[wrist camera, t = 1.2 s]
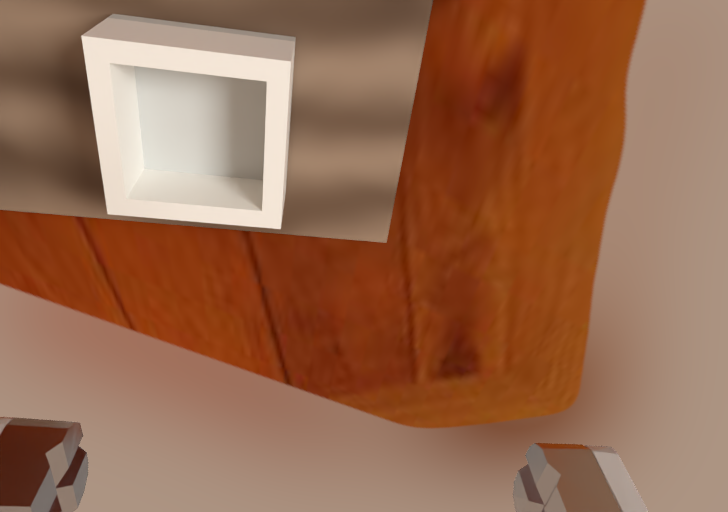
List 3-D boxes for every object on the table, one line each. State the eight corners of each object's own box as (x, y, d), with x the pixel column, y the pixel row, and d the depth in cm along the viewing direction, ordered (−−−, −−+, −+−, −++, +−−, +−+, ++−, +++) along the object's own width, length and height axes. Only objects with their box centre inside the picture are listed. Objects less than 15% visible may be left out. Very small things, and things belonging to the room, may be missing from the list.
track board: (-157, -105, 29) (-285, -97, 23) (432, -20, 33) (455, 6, 27) (-57, 193, 40) (-128, 253, 33) (384, 232, 43) (394, 292, 37)
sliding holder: (113, 13, 32) (81, 35, 28) (295, 37, 33) (291, 61, 29) (131, 176, 38) (107, 214, 33) (285, 190, 39) (280, 229, 35)
